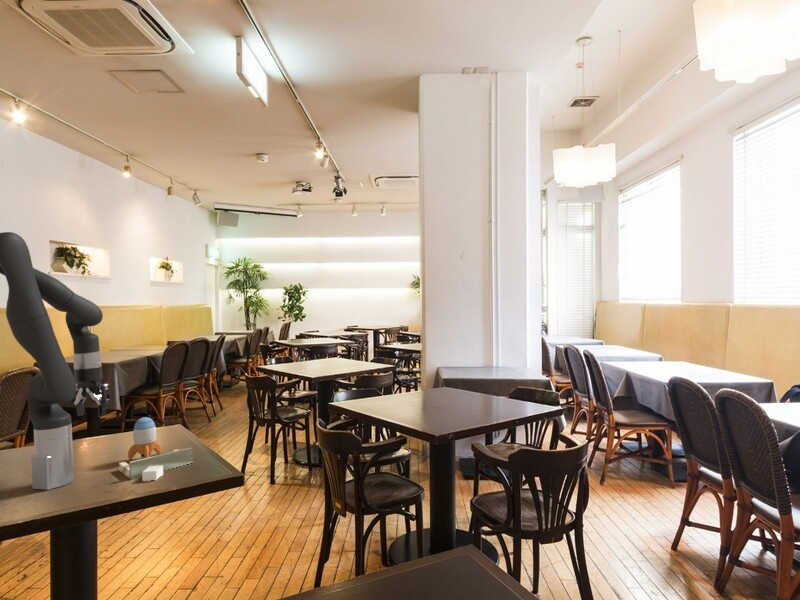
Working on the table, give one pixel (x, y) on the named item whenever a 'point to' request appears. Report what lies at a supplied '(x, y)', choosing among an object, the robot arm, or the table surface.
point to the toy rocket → (144, 438)
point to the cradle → (157, 462)
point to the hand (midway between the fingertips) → (91, 415)
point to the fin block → (152, 473)
